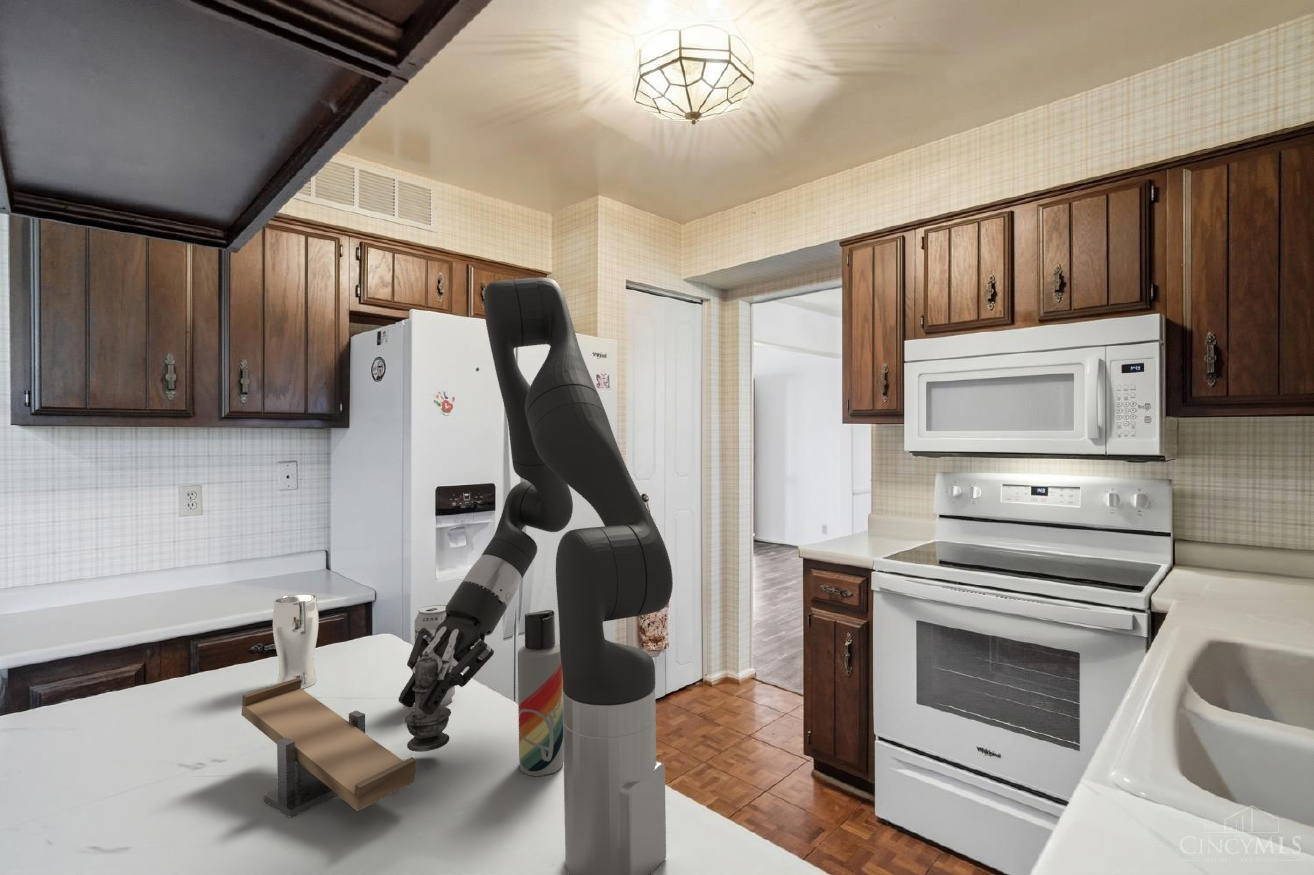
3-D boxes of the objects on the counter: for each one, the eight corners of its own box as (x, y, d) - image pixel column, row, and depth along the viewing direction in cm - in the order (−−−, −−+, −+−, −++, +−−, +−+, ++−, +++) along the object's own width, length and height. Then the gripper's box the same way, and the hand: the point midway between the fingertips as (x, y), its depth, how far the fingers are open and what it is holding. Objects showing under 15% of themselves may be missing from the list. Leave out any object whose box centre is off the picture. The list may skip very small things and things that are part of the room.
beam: (414, 781, 75) (416, 759, 75) (357, 811, 69) (359, 787, 69) (296, 696, 89) (298, 677, 89) (241, 714, 83) (242, 694, 83)
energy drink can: (463, 698, 106) (461, 606, 106) (433, 712, 100) (431, 615, 100) (437, 691, 109) (436, 602, 109) (407, 704, 103) (406, 610, 103)
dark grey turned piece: (436, 754, 82) (434, 659, 82) (395, 751, 83) (392, 657, 83) (460, 733, 88) (457, 644, 88) (420, 730, 89) (418, 643, 89)
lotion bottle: (529, 781, 80) (527, 619, 80) (512, 762, 84) (510, 609, 84) (571, 768, 83) (569, 611, 83) (553, 750, 87) (550, 602, 87)
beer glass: (282, 678, 115) (281, 594, 115) (324, 675, 117) (323, 592, 117) (266, 693, 109) (265, 604, 109) (311, 690, 110) (310, 601, 110)
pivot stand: (379, 774, 82) (378, 715, 82) (290, 817, 73) (289, 751, 73) (352, 761, 85) (351, 705, 85) (263, 801, 76) (263, 738, 76)
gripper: (437, 574, 96) (362, 684, 85) (505, 584, 88) (431, 706, 77) (467, 602, 100) (399, 710, 90) (533, 614, 92) (467, 733, 82)
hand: (414, 707), depth 84 cm, fingers closed on dark grey turned piece, 3 cm apart
